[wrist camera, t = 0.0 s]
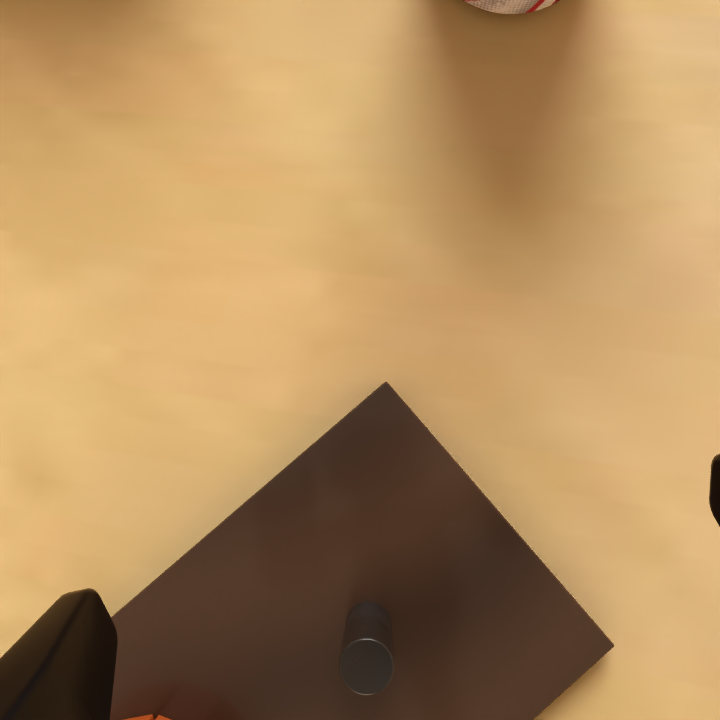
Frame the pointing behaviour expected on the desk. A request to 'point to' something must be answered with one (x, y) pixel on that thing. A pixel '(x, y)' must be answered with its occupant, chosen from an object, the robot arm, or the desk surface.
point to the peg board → (356, 597)
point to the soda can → (511, 5)
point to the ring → (149, 718)
